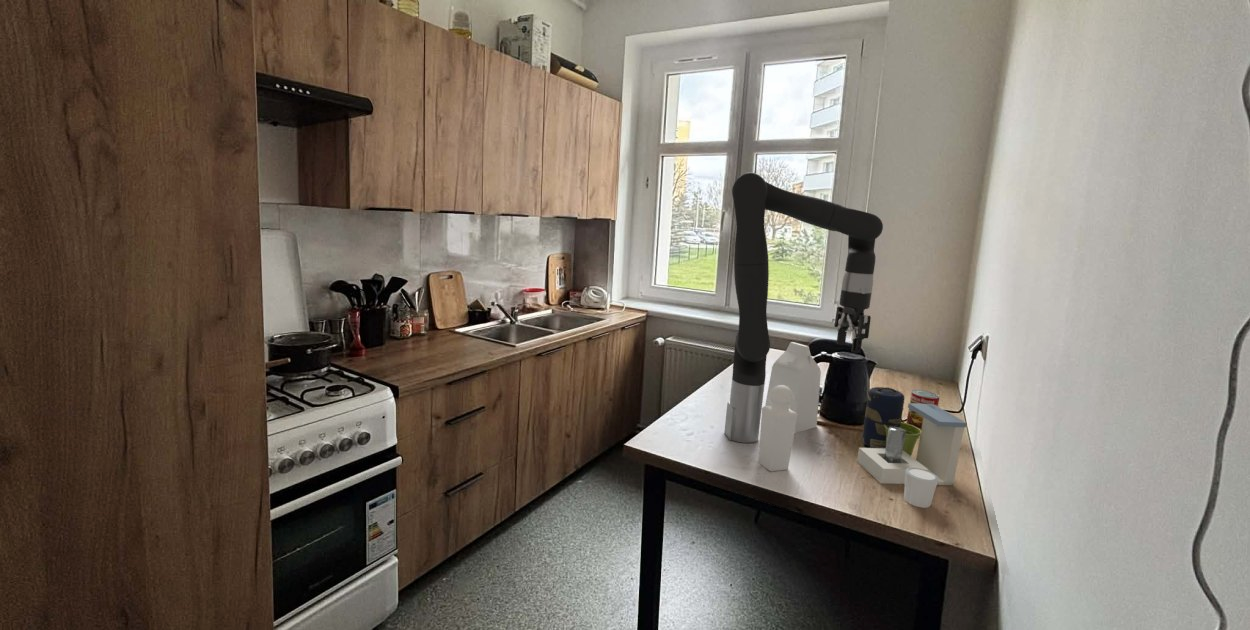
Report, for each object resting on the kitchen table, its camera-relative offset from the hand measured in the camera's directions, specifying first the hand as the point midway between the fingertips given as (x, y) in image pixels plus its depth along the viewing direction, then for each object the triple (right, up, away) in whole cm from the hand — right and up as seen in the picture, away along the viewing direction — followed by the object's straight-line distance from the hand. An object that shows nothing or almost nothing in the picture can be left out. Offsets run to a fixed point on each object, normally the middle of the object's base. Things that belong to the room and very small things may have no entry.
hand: (847, 348), depth 145 cm
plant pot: (+16, -31, +5) cm, 35 cm away
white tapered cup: (+8, -35, -19) cm, 41 cm away
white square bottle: (-22, -31, -6) cm, 38 cm away
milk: (-8, -26, +25) cm, 37 cm away
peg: (+9, -32, -5) cm, 34 cm away
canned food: (+35, -28, +27) cm, 52 cm away
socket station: (+13, -33, -5) cm, 35 cm away
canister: (+14, -30, +11) cm, 34 cm away
